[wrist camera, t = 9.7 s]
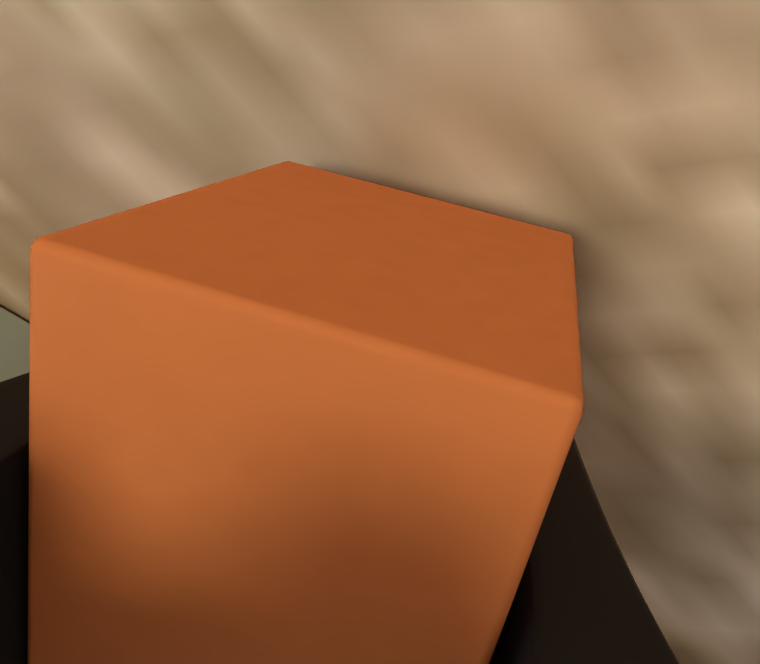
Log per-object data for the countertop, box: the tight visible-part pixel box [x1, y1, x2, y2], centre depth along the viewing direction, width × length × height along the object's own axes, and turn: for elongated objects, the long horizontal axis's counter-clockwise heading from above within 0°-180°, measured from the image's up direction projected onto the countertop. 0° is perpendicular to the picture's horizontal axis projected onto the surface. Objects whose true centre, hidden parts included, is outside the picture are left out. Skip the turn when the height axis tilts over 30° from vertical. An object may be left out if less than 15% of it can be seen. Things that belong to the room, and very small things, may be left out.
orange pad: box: [27, 161, 584, 664], centre depth 9 cm, size 4×10×5 cm, turn 170°
